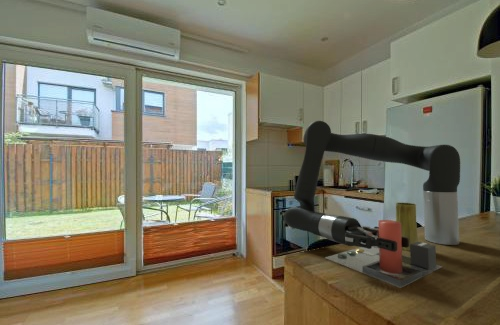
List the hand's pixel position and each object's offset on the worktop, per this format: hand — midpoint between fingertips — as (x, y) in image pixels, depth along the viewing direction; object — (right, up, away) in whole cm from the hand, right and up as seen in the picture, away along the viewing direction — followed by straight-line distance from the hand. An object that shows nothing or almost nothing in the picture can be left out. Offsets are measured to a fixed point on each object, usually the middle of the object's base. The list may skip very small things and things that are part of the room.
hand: (402, 244), depth 53 cm
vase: (+15, -9, +20) cm, 27 cm away
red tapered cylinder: (-1, -6, +2) cm, 7 cm away
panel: (0, -8, +9) cm, 13 cm away
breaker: (+10, -8, +7) cm, 14 cm away
